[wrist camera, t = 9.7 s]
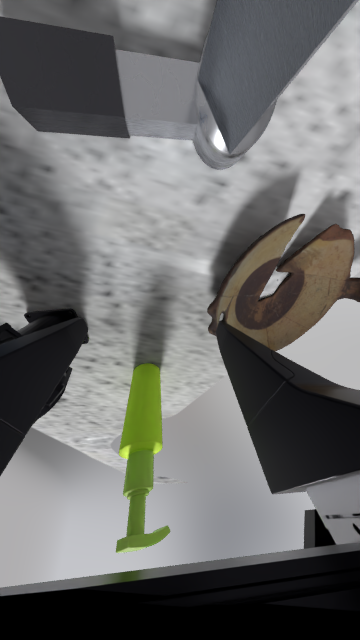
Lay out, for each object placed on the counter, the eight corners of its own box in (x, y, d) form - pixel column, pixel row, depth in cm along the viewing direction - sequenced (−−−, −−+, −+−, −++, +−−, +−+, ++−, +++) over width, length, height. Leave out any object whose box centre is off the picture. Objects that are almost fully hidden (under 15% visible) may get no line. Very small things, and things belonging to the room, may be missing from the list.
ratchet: (48, 160, 13) (-17, 109, 8) (-5, 12, 9) (-180, -242, 4) (247, 171, 15) (287, 137, 11) (265, 59, 12) (338, -66, 7)
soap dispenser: (152, 385, 32) (147, 548, 15) (127, 374, 29) (85, 566, 12) (168, 372, 30) (184, 535, 13) (144, 359, 27) (126, 551, 10)
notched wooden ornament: (228, 195, 16) (277, 161, 10) (371, 252, 24) (455, 255, 17) (186, 338, 26) (196, 368, 20) (295, 346, 34) (329, 371, 27)
